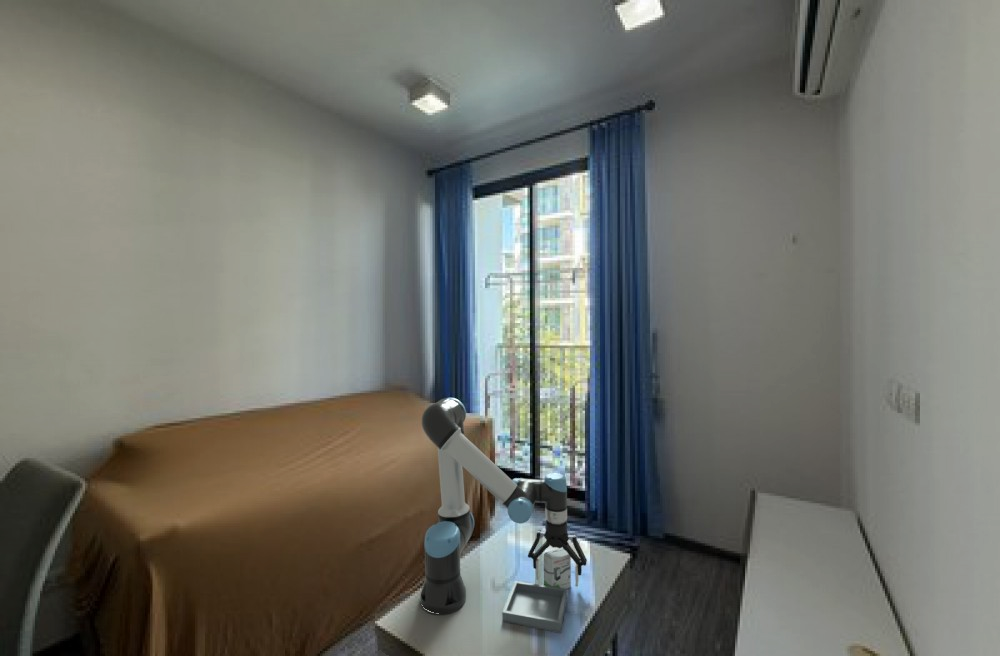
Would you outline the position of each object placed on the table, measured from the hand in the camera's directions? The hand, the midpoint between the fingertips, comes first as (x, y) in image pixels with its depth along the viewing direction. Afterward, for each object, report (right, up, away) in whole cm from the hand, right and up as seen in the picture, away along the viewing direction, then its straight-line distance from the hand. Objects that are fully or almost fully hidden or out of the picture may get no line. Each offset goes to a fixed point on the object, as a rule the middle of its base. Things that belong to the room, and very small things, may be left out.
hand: (557, 580), depth 142 cm
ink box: (0, -3, 0) cm, 2 cm away
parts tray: (-8, -2, -11) cm, 14 cm away
